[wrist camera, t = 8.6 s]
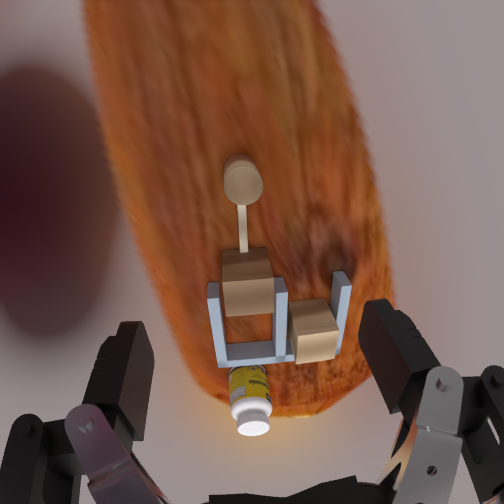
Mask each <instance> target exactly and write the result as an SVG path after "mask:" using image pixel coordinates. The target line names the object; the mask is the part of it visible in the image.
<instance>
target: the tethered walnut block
mask: <svg viewBox="0 0 504 504" xmlns="http://www.w3.org/2000/svg"><path fill="white" fill-rule="evenodd" d="M224 191H225V194H226V196H227V198H228V199H229V200H230V201H231V202H233V203H235V204H237V209H238V226H239V242H240V249H233V250H222V284H223V293H224V302H225V311H226V317H229V316H242V315H254V314H265V313H274V276H273V272H272V269H271V265H270V261H269V258H268V254H267V251H266V247H259V248H248V239H247V218H246V205H249V204H252V203H254V202H255V201H256V200H258V198H259V197H260V196H261V194H262V191H263V182H262V179H261V177H260V175H259V173H258V170H257V168H256V166H255V164H254V162H253V160H252V159H251V158H250V157H249V156H247V155H244V154H235V155H233V156H231V157H229V158H228V159H227V161H226V162H225V164H224Z"/></svg>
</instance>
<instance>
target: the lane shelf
mask: <svg viewBox="0 0 504 504" xmlns="http://www.w3.org/2000/svg"><path fill="white" fill-rule="evenodd" d="M351 287H352V285H351V283H350V281H349V280H348V278H347V277H346V275H345V273H344V272H343V271H337V272H333V281H332V289H331V297H330V305H329V308H330V310H331V312H332V314H333V317H334V319H335V321H336V323H337V325H338V328H339V330H340V331H339V337H338V342H337V347H336V352H335V355H336V354H339V352H340V347H341V342H342V337H343V332H344V327H345V322H346V316H347V311H348V305H349V300H350V294H351ZM287 300H288V291H287V288H286V285H285V282H284V279H283V277H274V313H272V340H268V341H258V342H247V343H235V344H226V338H225V330H224V322H223V314H222V306H221V298H220V290H219V282H212V283H208V290H207V302H208V308H209V315H210V321H211V327H212V333H213V339H214V345H215V351H216V357H217V362H218V368H223V367H237V366H249V365H259V364H269V363H278V362H287V361H295V359H294V355H293V351H292V347H291V343H290V339H289V338H287V339H286V328H287Z"/></svg>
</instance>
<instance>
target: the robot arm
mask: <svg viewBox="0 0 504 504" xmlns="http://www.w3.org/2000/svg"><path fill="white" fill-rule="evenodd" d="M358 339H359V345H360V348H361V350H362V352H363V354H364V356H365V358H366V360H367V363H368V365H369V367H370V369H371V371H372V374H373V376H374V378H375V380H376V382H377V384H378V387H379V389H380V391H381V394H382V396H383V398H384V401H385V403H386V405H387V408H388V410H389V412H390V414H394V413H397V412H400V411H401V413H402V415H403V418H402V420H401V423H400V426H399V429H398V432H397V435H396V438H395V440H394V443H393V446H392V449H391V451H390V454H389V457H388V459H387V462H386V464H385V466H384V467H383V469H382V471H381V473H380V474H379V476H378V478H377V480H376V482H375V484H374V483H367V482H357V479H356V476H355V475H354V476H350V477H346V478H342V479H338V480H333V481H329V482H324V483H320V484H318V485H316V486H313V487H311V488H309V489H306V490H304V491H301V492H299V493H296V494H294V495H291V496H288V497H282V498H281V497H271V496H262V495H254V494H247V493H244V494H226V495H209V502H206V503H202V504H448V501H449V497H450V494H451V490H452V487H453V483H454V479H455V475H456V471H457V466H458V463H459V457H460V453H462V455H463V458H464V460H465V463H466V466H467V468H468V471H469V474H470V476H471V479H472V482H473V484H474V488H475V490H476V493H477V496H478V499H479V502H480V504H504V368H502V367H500V366H495V365H493V366H489V367H487V368H485V370H484V371H483V373H482V374H481V376H475V377H461V376H460V374H459V373H458V372H457V371H455V370H454V369H452V368H450V367H446V366H441V364H440V363H439V361H438V360H437V358H436V357H435V355H434V353H433V352H432V350H431V349H430V347H429V346H428V344H427V343H426V341H425V340H424V338H423V337H422V336H421V334H420V332H419V330H417V329H416V326H415V325H414V323H413V322H412V320H411V319H410V317H408V316H407V315H406V314H404V313H403V312H402V311H400V310H394V308H393V307H392V305H391V304H390V302H389V301H388V300H387V299H385V298H384V299H378V300H371V301H367V302H366V303H365V305H364V310H363V314H362V319H361V323H360V327H359V332H358ZM153 370H154V354H153V350H152V347H151V344H150V341H149V339H148V335H147V333H146V330H145V327H144V324H143V323H142V321H125V322H121V323H120V325H119V328H118V331H117V334H116V336H109V337H108V338H107V339H106V340H105V342H104V343H103V344H102V345H101V347H100V349H99V352H98V355H97V360H96V361H95V364H94V369H93V370H92V373H91V376H90V379H89V382H88V385H87V389H86V392H85V395H84V399H83V402H82V404H81V405H79V406H77V407H75V408H73V409H72V410H71V411H70V412H69V413H68V415H67V416H66V418H65V419H61V420H55V421H50V422H44V423H43V422H42V421H41V419H40V418H39V417H38V416H36V415H34V414H24V415H22V416H20V417H18V418H17V419H16V420H15V421H14V423H13V425H12V427H11V430H10V434H9V437H8V441H7V444H6V448H5V452H4V456H3V460H2V464H1V468H0V504H79V494H80V484H81V475H87V477H88V479H89V483H88V484H87V485H88V489H89V491H90V493H91V495H92V497H93V499H94V500H95V502H96V504H173V503H172V502H171V501H170V500H169V499H168V498H167V497H166V496H165V495H164V493H163V492H162V491H161V490H160V489H159V487H158V486H157V485H156V483H154V481H153V479H152V478H151V477H150V476H149V474H148V473H147V471H146V470H145V469H144V467H143V466H142V465H141V463H140V462H139V460H138V459H137V458H136V456H135V454H134V453H133V451H132V445H133V441H143V440H144V431H145V424H146V415H147V409H148V402H149V396H150V389H151V383H152V376H153ZM489 418H490V420H491V422H492V424H493V426H494V428H495V430H496V432H497V434H498V436H499V440H500V444H499V445H498V442H497V440H496V438H495V436H494V434H493V432H492V429H491V427H490V425H489V423H488V421H487V420H488V419H489Z"/></svg>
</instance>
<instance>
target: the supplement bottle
mask: <svg viewBox="0 0 504 504" xmlns="http://www.w3.org/2000/svg"><path fill="white" fill-rule="evenodd" d="M229 393H230V410H231V415H232V416H233V418H234V419H235V420H237V429H238V432H239V433H241V434H242V435H247V436H257V435H261V434H264V433H265V432H267V431H268V430H269V428H270V426H269V419H268V417H269V416H270V414H271V412H272V403H271V398H270V392H269V386H268V380H267V374H266V370H265V368H264V367H263V366H262V365H260V364H259V365H249V366H237V367H232V368H231V369H230V371H229Z"/></svg>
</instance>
